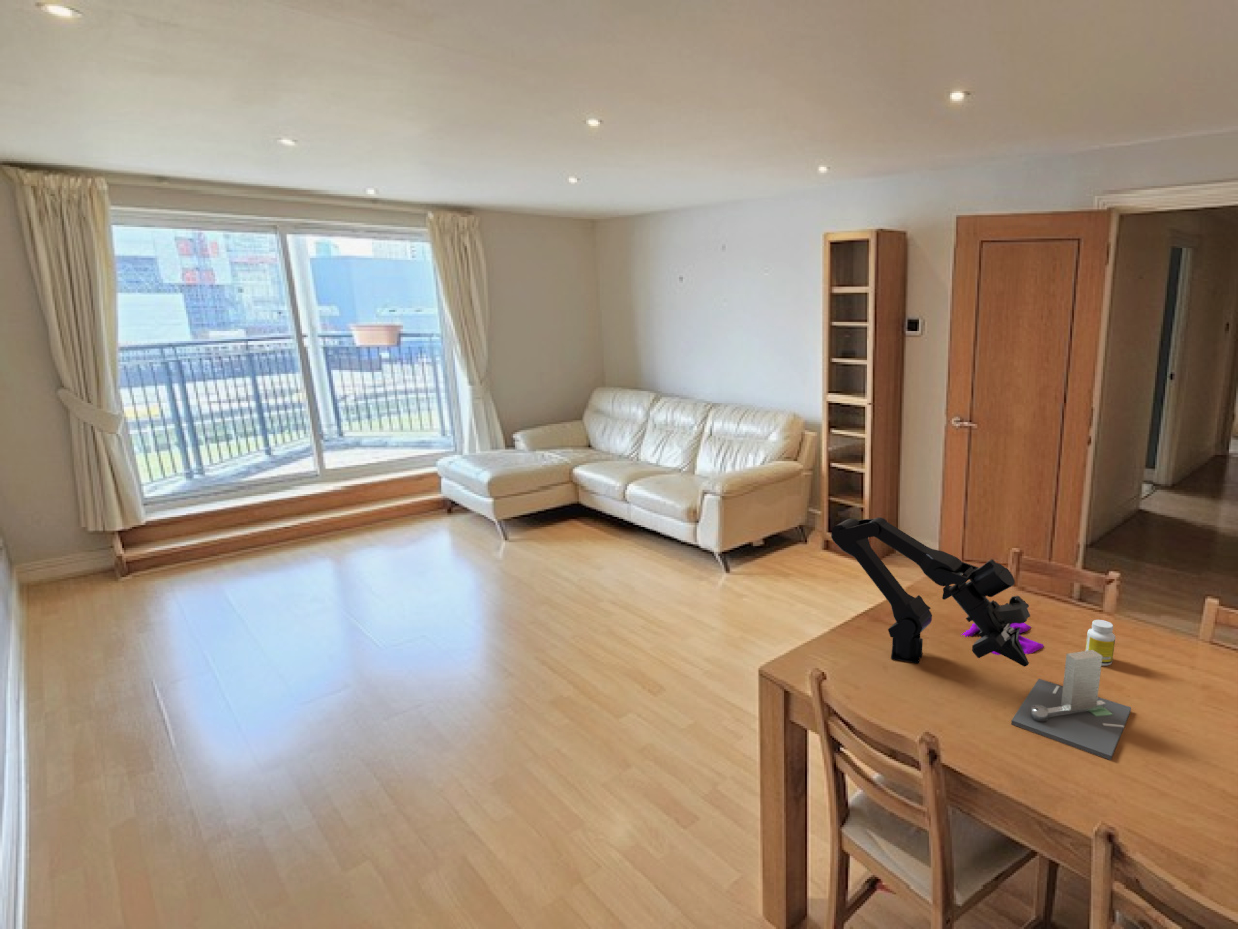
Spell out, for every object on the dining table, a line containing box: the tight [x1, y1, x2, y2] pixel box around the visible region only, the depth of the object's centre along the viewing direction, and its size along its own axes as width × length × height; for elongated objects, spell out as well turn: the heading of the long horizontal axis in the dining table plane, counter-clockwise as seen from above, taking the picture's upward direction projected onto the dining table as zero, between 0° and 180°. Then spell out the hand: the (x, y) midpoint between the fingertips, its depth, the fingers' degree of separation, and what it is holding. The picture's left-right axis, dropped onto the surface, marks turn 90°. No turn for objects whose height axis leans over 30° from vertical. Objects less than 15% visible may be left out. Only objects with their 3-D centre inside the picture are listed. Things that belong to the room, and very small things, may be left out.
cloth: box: [961, 622, 1044, 656], centre depth 170 cm, size 22×19×6 cm
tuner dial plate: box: [1010, 678, 1132, 761], centre depth 137 cm, size 20×17×1 cm
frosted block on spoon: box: [1031, 650, 1106, 722], centre depth 135 cm, size 16×3×13 cm, turn 98°
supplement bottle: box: [1084, 619, 1116, 667], centre depth 155 cm, size 5×5×10 cm
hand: (1026, 665), depth 144 cm, fingers closed
